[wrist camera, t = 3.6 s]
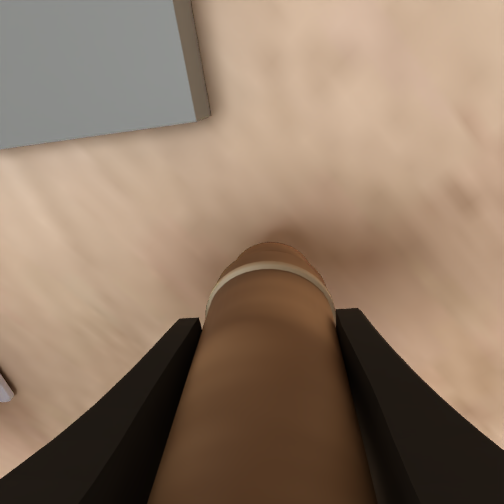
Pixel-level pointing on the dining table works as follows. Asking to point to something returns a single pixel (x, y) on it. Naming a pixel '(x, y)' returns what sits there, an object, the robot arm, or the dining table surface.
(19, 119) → the hole board
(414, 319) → the dining table surface
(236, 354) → the walnut peg
